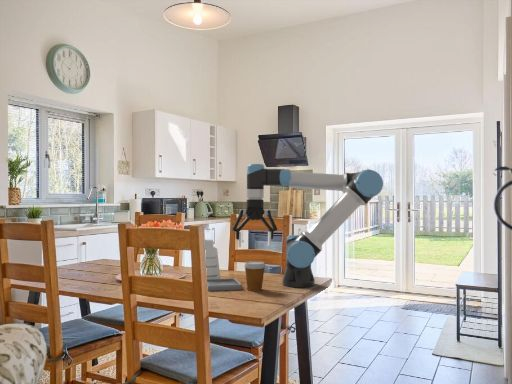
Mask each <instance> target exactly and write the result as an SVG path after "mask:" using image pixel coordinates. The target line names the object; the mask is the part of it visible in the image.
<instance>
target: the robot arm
mask: <svg viewBox="0 0 512 384" xmlns="http://www.w3.org/2000/svg"><path fill="white" fill-rule="evenodd" d="M246 168H247V170H246V198H247V199H246V209H244V210H243V209H240V210H239V212H238V216H237V218H236V220H235V222H234V223H233V225H232V227H231V231H232V232H233V231H234V232H235V240H237V247H238V248H242V232H241V231H242V229H243V228H244V227H245V226H246V224H247V223H248V222H250V220H251V221H261V222H262V223H263V224H264V226H265V227H266V229H268V231H267V247H269V248H271V247H272V240H273V239H274V232H275V231H278V227H277V225H276V223H275V221H274V219H273V217H272V213H271V210H270V209H266V210H265V208H264V202H265V201H264V198H265V197H264V194H265V188H264V186H265V187H266V186H271V187H273V186H274V187H276V188H280V187H282V188H294V189H295V188H296V189H311V190H321V191H323V190H324V191H337V192H338V191H339V192H342V195H341V196H340V197H339V198H337V200H336V201H335V203H333V204H332V206H331V207H329V208H328V209H327V211H326V212H324V214H322V216H320V218H319V219H318V220H317V221H316V222H315V223H314V224H313V225H312V226H311V227H310V229H309V230H307V231H302V232H301V233H299V235H297V234H295V235H288V236H287V237H286V239H285V243H286V244H285V245H286V246H285V247H286V249H285V251H286V253H285V254H286V257H285V258H286V260H285V261H286V262H285V263H286V264H285V265H286V266H285V267H286V268H285V271H284V274H283V277H282V285H283V286H285V287H290V288H309V287H310V288H311V287H314V286H315V283H316V282H315V281H316V280H315V277H314V274H313V271H312V264H313V262H314V261H315V258H316V257H317V256H318V255H319V254H320V253H321V252H322V251H323V245H324V244H325V242H326V241H328V239H329V238H330V237H331V236H332V235H333V234H334V233H336V231H337V230H338V229H339V228H341V226H342V224H344V223H345V222H346V221H347V220H348V218H350V217H351V216H352V214H353V213H354V212H356V210H357V209H359V207H360V206H366V205H367V204H369V202H370V201H371V200H372V199H373V198H374V197H376V196H378V195H379V194H380V193H381V192H382V190H383V187H384V181H383V177H382V176H381V173H379V172H377V171H376V170H373V169H364V170H361V171H358V172H344V173H343V174H333V173H323V172H322V173H319V172H305V171H304V172H302V171H291V170H290V169H289V168H265V165H264V164H263V163H250V164H248V165H247V167H246ZM245 214H246V217H245V219H244V220H243V221H242V222H241V220H242V218H243V216H244V215H245ZM264 215H266V216H267V220H269V223H270V224H269V223H268V221H267V220H266V219H265V217H264ZM240 222H241V223H240Z"/></svg>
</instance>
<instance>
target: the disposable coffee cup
mask: <svg viewBox="0 0 512 384" xmlns="http://www.w3.org/2000/svg"><path fill="white" fill-rule="evenodd" d="M243 267H244V271H245V279H246V287H247V289H246V290H247V291H249V292H259V291H262V290H263V289H262V288H263V282H264V274H265V268H266V264H265V262H264V261H260V260H259V261H257V260H256V261H255V260H251V261H245V262H244V265H243Z"/></svg>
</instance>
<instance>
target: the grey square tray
mask: <svg viewBox="0 0 512 384" xmlns="http://www.w3.org/2000/svg"><path fill="white" fill-rule="evenodd" d="M207 286H208V290H207V291H208V292H213V291H214V292H217V291H238V290H239V291H240V290H243V289H242V287H243V285H242V283H241V282H240V281H239V280H238V279H237V278H236V277H235V278H234V277H232V278H231V277H230V278H228V277H227V278H220V279H207Z"/></svg>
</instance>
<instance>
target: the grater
mask: <svg viewBox="0 0 512 384" xmlns="http://www.w3.org/2000/svg"><path fill="white" fill-rule="evenodd" d="M204 239H205V250H206V268H207V279H221V272H220V264H219V263H220V262H219V256H218V254H219V253H218V248H217V247H215V246H214V239H212V238H204Z"/></svg>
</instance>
